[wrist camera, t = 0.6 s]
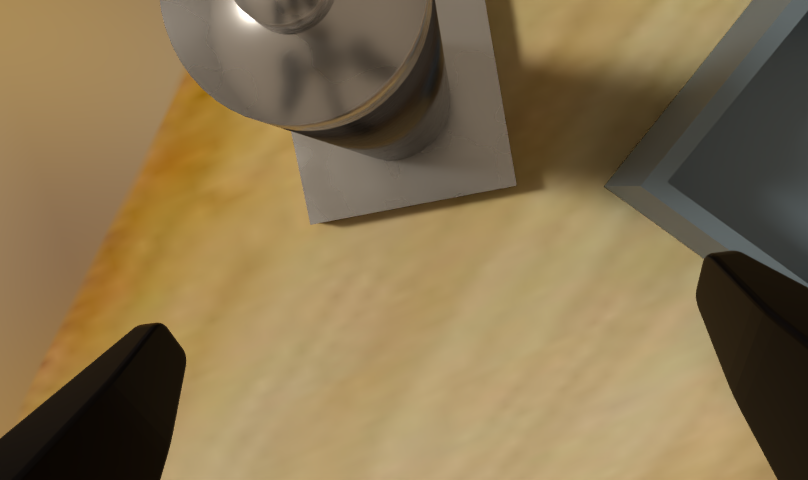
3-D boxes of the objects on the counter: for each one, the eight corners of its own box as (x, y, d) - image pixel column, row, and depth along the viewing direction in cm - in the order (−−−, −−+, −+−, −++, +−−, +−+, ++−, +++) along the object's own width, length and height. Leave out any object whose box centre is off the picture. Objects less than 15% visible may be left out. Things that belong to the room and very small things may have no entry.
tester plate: (514, 185, 21) (516, 185, 20) (317, 223, 23) (310, 224, 22) (477, -27, 21) (478, -38, 20) (276, 24, 22) (267, 16, 21)
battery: (403, 184, 21) (312, 178, 9) (310, 114, 21) (86, 11, 9) (474, 84, 20) (489, -82, 8) (377, 13, 20) (237, -261, 8)
